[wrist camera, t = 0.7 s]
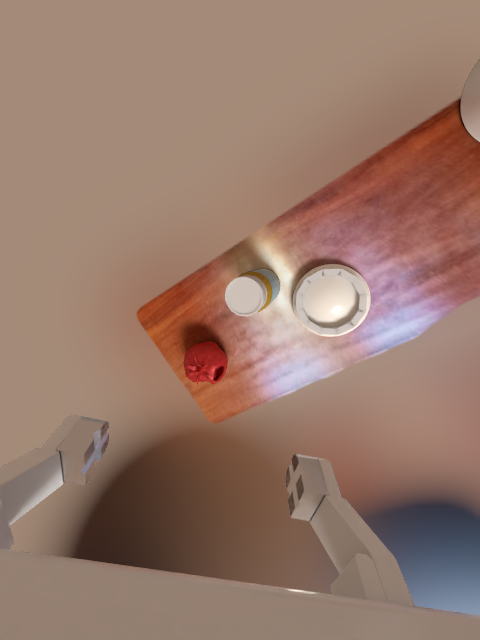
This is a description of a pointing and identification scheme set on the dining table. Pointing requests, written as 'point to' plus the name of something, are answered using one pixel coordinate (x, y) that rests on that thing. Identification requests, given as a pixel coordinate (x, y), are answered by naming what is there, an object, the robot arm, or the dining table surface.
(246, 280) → the bottle
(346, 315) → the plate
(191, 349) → the pomegranate
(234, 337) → the dining table surface
